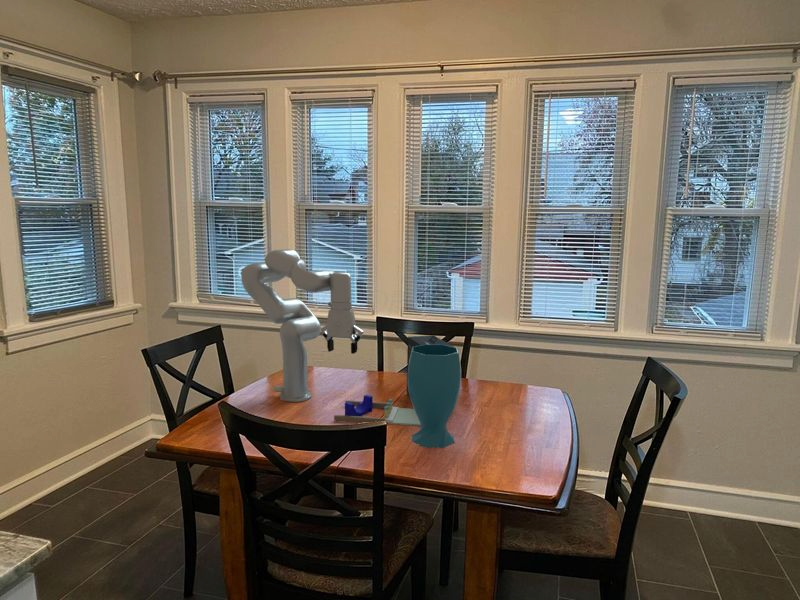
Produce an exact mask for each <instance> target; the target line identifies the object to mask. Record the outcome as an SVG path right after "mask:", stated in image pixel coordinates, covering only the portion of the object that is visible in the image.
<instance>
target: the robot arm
mask: <svg viewBox="0 0 800 600" xmlns="http://www.w3.org/2000/svg"><path fill="white" fill-rule="evenodd" d="M306 268H307V266H306V262H305V260H304V259H302V258H301V256H300V254H299V253H298V252H297V251H295V250H293V249H290V248H288V249H273V250H271V251H269V252H268V253H267V254H266V256H265V257H264V262H255V263H250V264H247V265H245V266H244V267H243V269H242V270H241V276H240V277H241V278H240V279H241V283H242V287H243V288H244V290H245V292H246V293H247V294H248V295H249V296H250V298H252V299H253V300H254V301H255V302H256V303H257V304H258V306H259V307H260V309H261V310H262V311H263V312H264V313H265V315H266V316H267V317H268V318H269V319H270V320H271V322H273V323H274V324H276V325H277V324H278V325H280V324H281V325H280V328H279V336H280V342H281V347H282V348H281V349H282V370H283V371H282V376H283V377H282V381H283V384H282V385H274V387H273V390H274V392H276V393H278V392H279V393H280V394H279V399H280V400H281V401H284V402H288V403H296V402H299V403H300V402H304V401H305V402H306V401H307V400H310V399H311V398H312V395H313V394H312V392H311V391H310V390H308V385H309V382H308V381H309V379H308V377H309V376H308V353H307V351H308V350H307V349H306V347H305V345H304V342H308V341H311V340H314V339H316V338H318V337H319V336H320V334H322V336H323V338H325V341H327V342H326V343H327V344H326V346H327V347H326V348H327V351H328V353H329V352H332V351H334V350H335V346H334V345H335V341H334V339H333V338H338V339H339V338H341V339H348V338H349V340H350V341H351V343H350V352H351V354H352V355H353V354H356V353H357V352H358V342H359V340H361V339H362V337H363V335H364V330H363V329H361V328H360V327H358V326H357V324H356V318H355V317H356V316H355V311H354V310H353V309H352V277H351V274H350V273H349V272H346V271H335V270H323V271H314V272H313V271H309V270H308V269H306ZM285 278H289V279H290V280H291V282H292V284H293V285H294V286H295V287H297V288H299V289H301V290H303V291H305V292H308V293H313V294H316V293H322V292H330V301H329V302H328V303H327V306H328V307H330V309H328V313H327V320H326V325H324V326H323V327H321V323H320V321H319V319H318V318H317V316H315V314H314V313H313V312H312V311H311V309H310V308H309V307H308V306H307V305H306V304H305V303H304V302H303V301H302V300H300V299H299V298H295V297H294V298H282V297H281V296H280V295H279V294H278V293H277V291H276V290H275V289H273V288H272V287H270V286H269V285H267V284H268V283H275V282H278V281H280V280H282V279H285ZM356 333H357V335H356Z"/></svg>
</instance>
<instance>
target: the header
mask: <svg viewBox="0 0 800 600" xmlns="http://www.w3.org/2000/svg"><path fill="white" fill-rule="evenodd" d="M393 401H394V400H393V398H388V399H387V402H377V401H373V402H372V409H383V410H384V412H383V413H384V414H383V417H374V416H373V417H371V416H346V415H345V414H344V415H341V414H334V415H333V421H334V420H336V421H335V422H339V421H345V422H344V423H353V424H354V423H355V424H357V423H358V424H363V423H362V422H375V421H386V422H387V423H388V424H387V425H398V424H400V426H401V425H402V426H412V425H414V426H415V427H421V425H420V421H419V419H418V417H417V415H416V412H415V410H414V408H405V407H404V408H402V407H399V406H393ZM346 402H350V403H353V404H354V408H356V407H357V405H358V404H359V403H361V402H363V400H362V401H361V400H349V399H348V400H347V399H346V400H345V402H344V404H345V403H346ZM390 423H391V424H390Z"/></svg>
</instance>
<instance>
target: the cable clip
mask: <svg viewBox="0 0 800 600" xmlns="http://www.w3.org/2000/svg"><path fill="white" fill-rule="evenodd" d="M373 397H374V396H372V395H370V394H369V395H368V394H365V395H363V400H362V401H363V402H361V403H359V404H358V405H357V407H354V404H353V403H350V402H346V403H345V402H344V415H346V416H360V417H364V415H367V414H369V413H372V412H373V408H372V402H374V401H373Z"/></svg>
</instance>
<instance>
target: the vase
mask: <svg viewBox="0 0 800 600" xmlns="http://www.w3.org/2000/svg"><path fill="white" fill-rule="evenodd" d="M458 349H459V348H457V347H455V346H453V347H451V346H447V345H433V344H425V345H420V346H415V347H412V351H411V356H410V361H409V367H408V390H409V394H408V395H409V398H410V402H411V404H412V407H413V409H414V410H415V412H416V415H417V417H418V419H419V421H420V425H421V426H420V429H419V431H417V432H415V433H414V434H411V443H413V442H414V443H413V444H415V443H416V444H415V445H417V444H419V445H418V446H420V445H421V446H420V447H422V446H423V447H422V448H424V447H429V449H431V448H432V447H435V449H437V447H439V448H438V449H445V448H446V446H447V447H449V446H451V445H453V444H455V443H456V440H455V436H454V435H453V434H451V433H450V432H449V431H448V429H447V425H448V422H449V420H450V418H451V416H452V414H453V412H454V410H455V408H456V406H457V403H458V399H459V396H460V393H461V386H462V367H461V359H460V358H461V357H460V354H459V351H458ZM432 449H433V448H432Z"/></svg>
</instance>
